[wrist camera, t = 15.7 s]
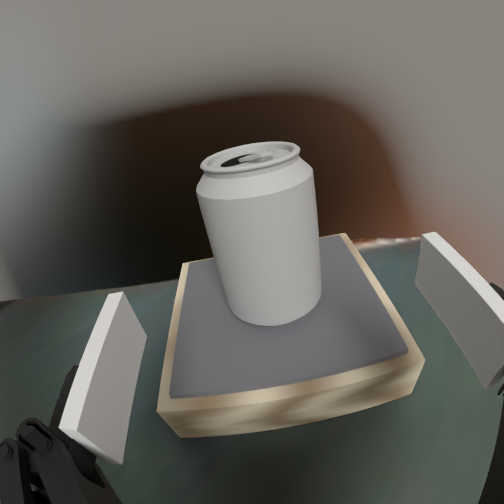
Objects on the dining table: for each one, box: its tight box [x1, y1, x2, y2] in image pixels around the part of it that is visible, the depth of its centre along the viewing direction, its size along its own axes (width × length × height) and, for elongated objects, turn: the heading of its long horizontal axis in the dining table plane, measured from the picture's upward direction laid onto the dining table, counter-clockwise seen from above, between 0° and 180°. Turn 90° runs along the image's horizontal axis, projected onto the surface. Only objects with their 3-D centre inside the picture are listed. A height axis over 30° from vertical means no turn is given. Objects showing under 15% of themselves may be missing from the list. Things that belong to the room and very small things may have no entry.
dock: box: [157, 233, 425, 438], centre depth 25 cm, size 18×18×5 cm
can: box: [196, 142, 322, 326], centre depth 21 cm, size 8×8×12 cm
